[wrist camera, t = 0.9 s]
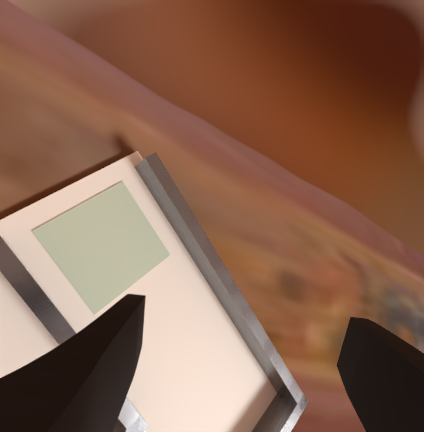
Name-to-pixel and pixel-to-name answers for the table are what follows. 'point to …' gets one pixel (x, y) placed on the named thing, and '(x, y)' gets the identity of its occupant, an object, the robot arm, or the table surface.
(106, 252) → the maze board
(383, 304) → the table surface
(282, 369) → the guide walls
